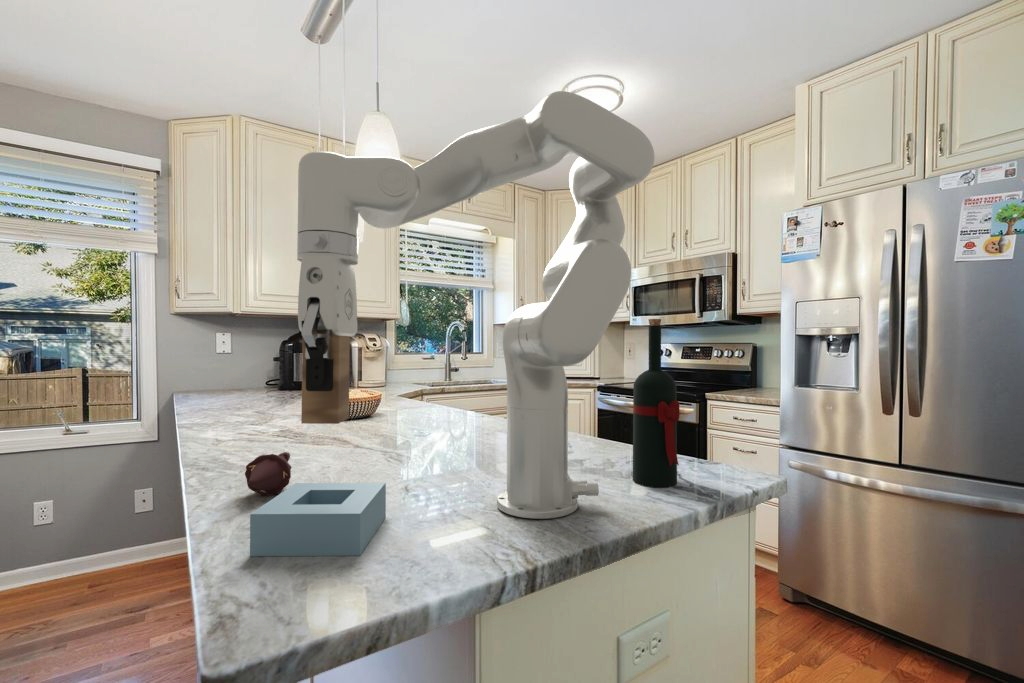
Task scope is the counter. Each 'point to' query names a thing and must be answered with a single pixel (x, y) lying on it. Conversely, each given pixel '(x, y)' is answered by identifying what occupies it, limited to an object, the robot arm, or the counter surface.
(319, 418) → the walnut peg
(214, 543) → the counter surface
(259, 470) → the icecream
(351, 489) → the socket block
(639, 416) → the wine bottle
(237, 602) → the counter surface
